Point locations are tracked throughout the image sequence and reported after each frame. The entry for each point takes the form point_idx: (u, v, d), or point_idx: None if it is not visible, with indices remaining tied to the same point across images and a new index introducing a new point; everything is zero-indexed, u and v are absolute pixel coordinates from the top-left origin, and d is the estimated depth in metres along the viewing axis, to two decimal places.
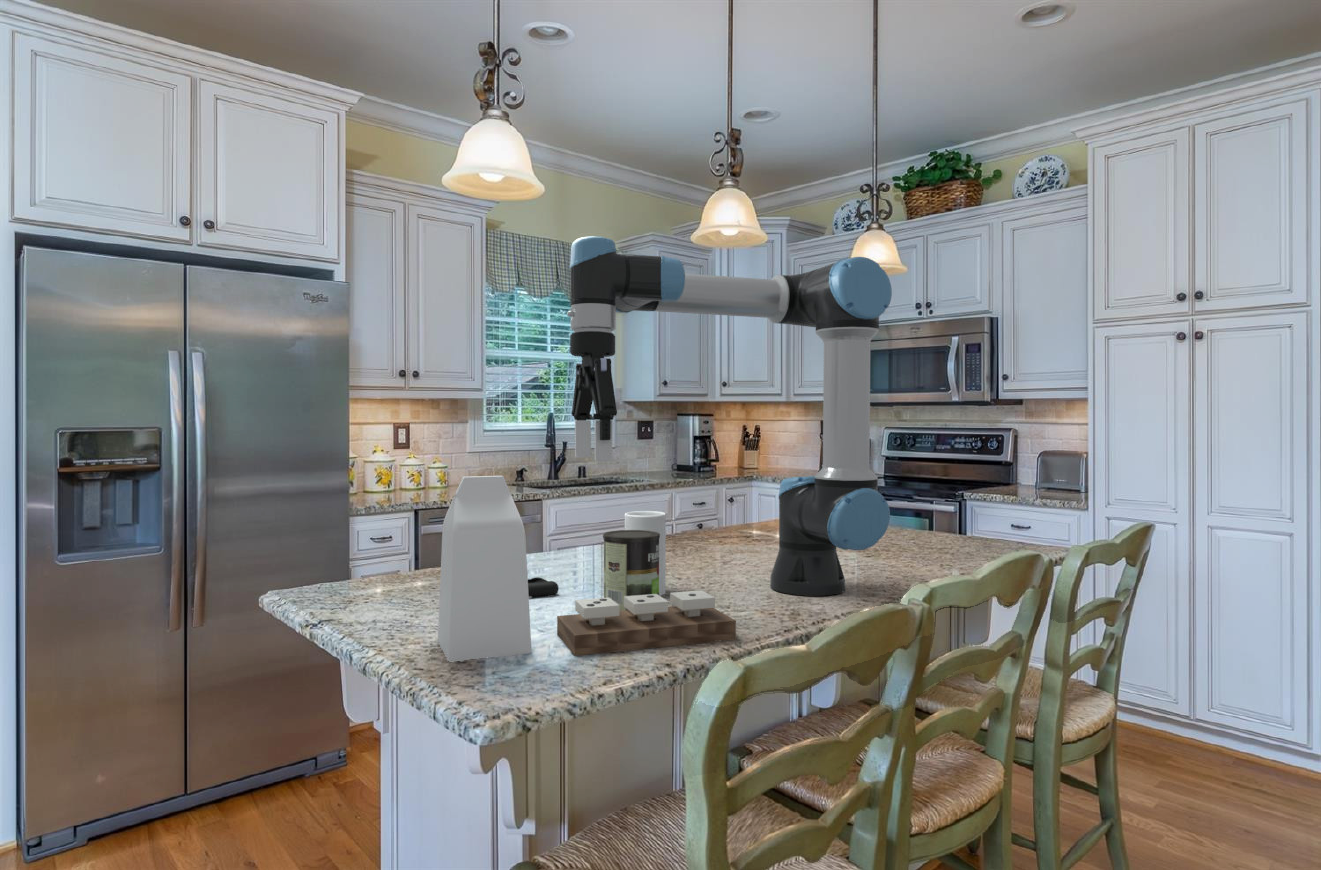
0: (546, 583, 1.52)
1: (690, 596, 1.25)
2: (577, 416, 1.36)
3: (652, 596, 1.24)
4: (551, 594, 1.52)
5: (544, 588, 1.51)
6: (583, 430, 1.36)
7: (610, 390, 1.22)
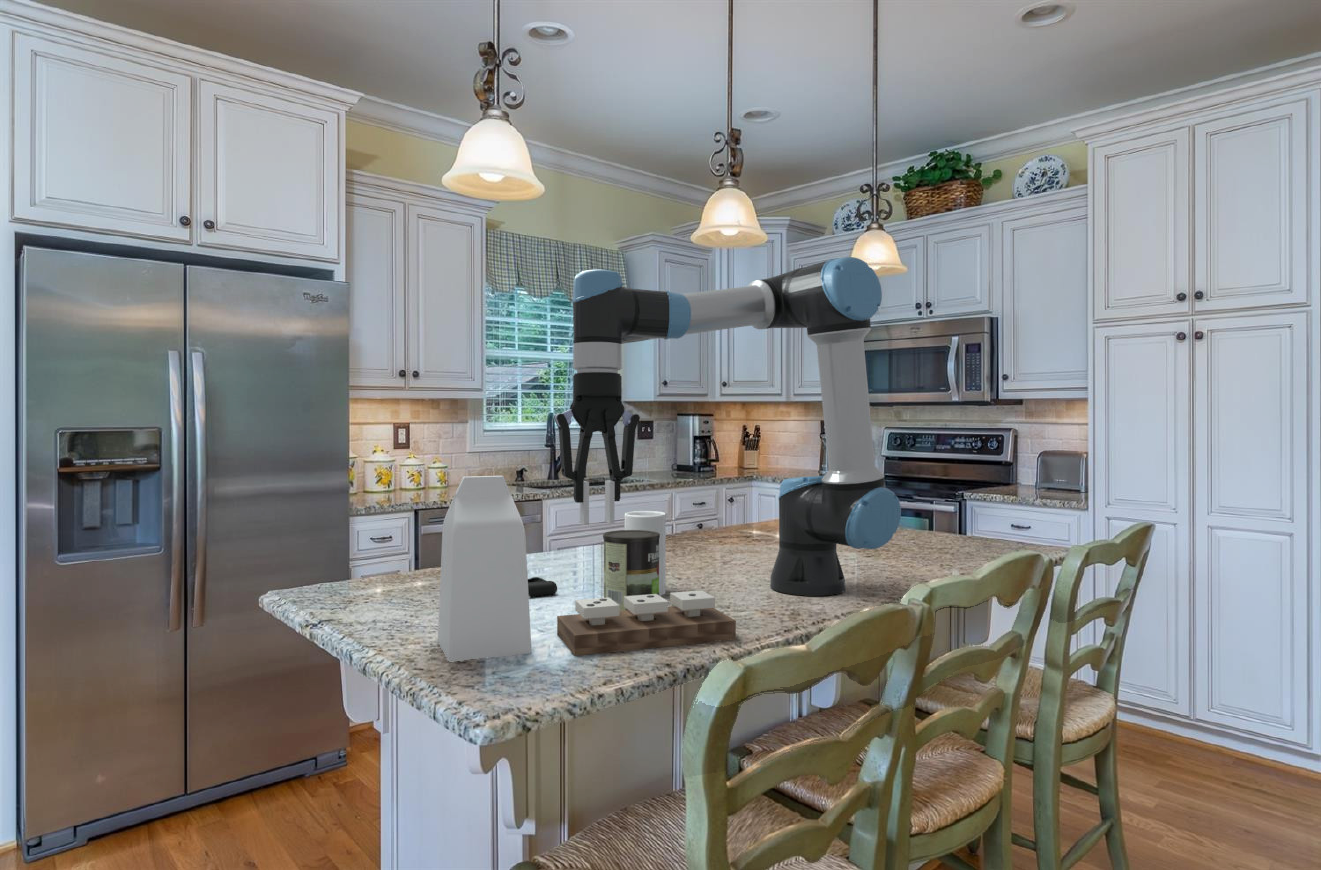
0: (545, 583, 1.52)
1: (690, 596, 1.25)
2: (609, 473, 1.22)
3: (652, 596, 1.24)
4: (550, 594, 1.52)
5: (543, 588, 1.51)
6: (607, 492, 1.21)
7: (562, 451, 1.17)
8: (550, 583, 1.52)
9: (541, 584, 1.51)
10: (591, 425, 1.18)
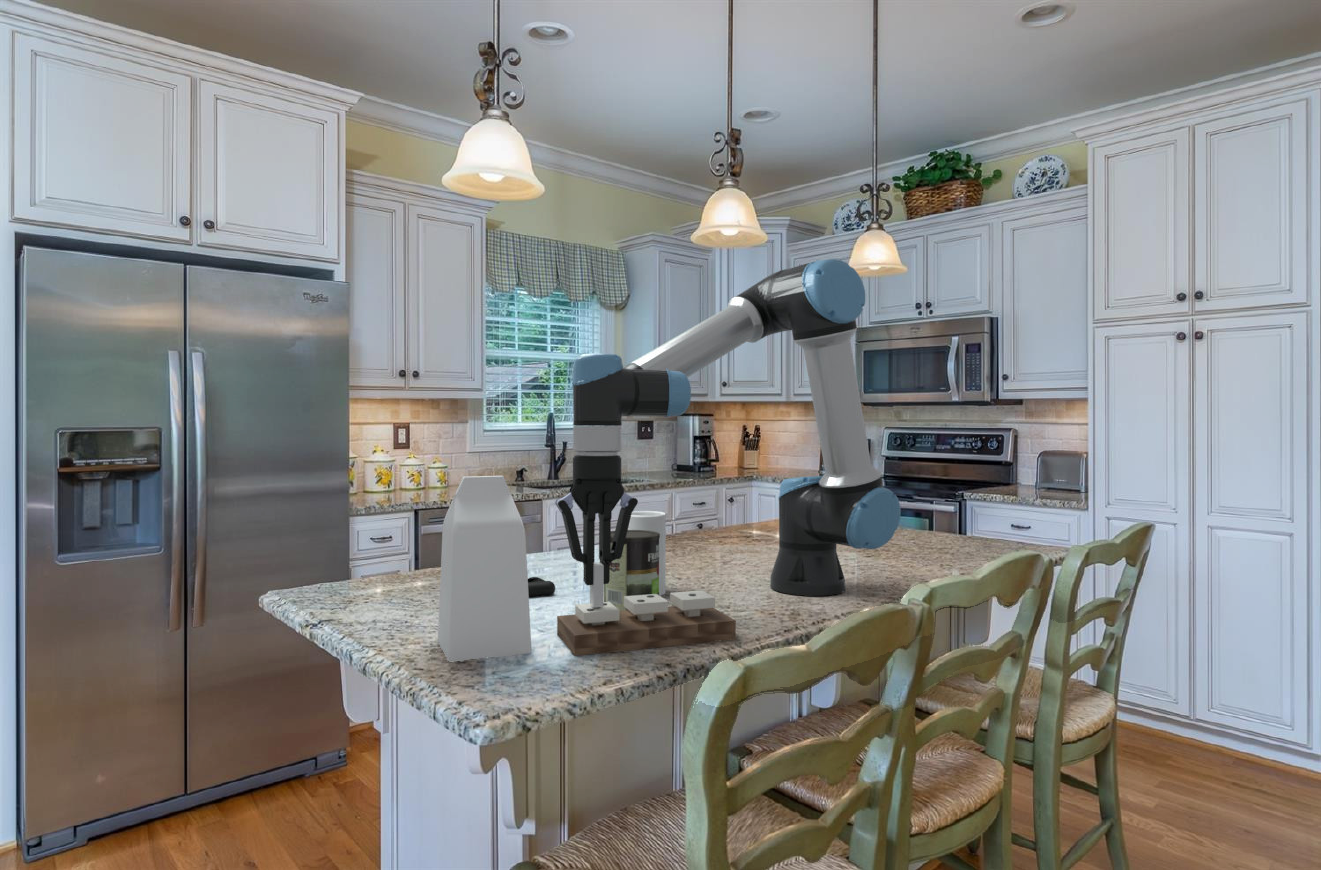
0: (543, 583, 1.52)
1: (690, 596, 1.25)
2: (599, 555, 1.21)
3: (652, 596, 1.24)
4: (548, 594, 1.52)
5: (541, 588, 1.51)
6: None
7: (569, 536, 1.18)
8: (548, 583, 1.52)
9: (539, 584, 1.51)
10: (593, 507, 1.18)
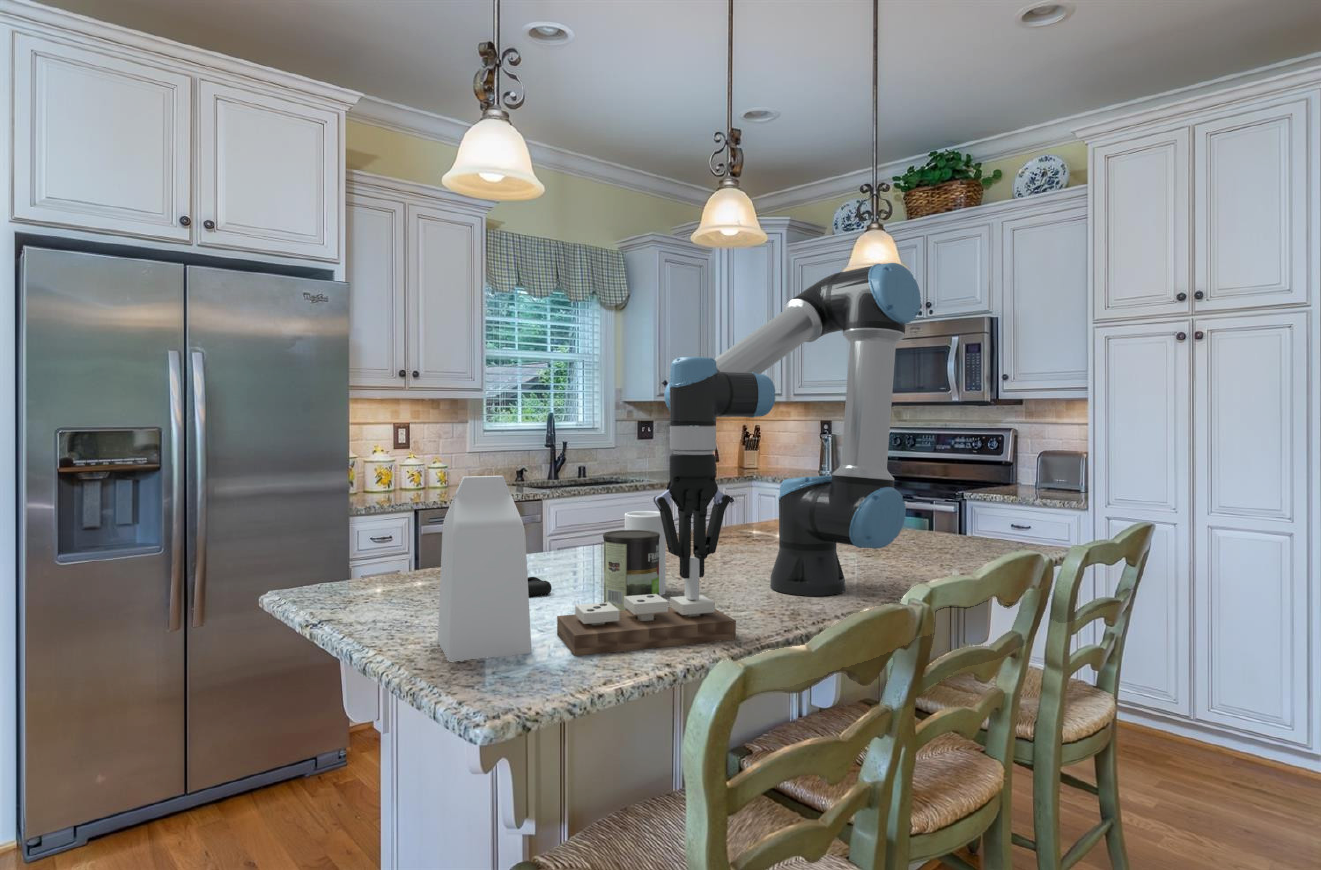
0: (539, 582, 1.52)
1: (690, 601, 1.25)
2: (693, 549, 1.27)
3: (652, 596, 1.24)
4: (544, 593, 1.52)
5: (537, 587, 1.51)
6: None
7: (667, 531, 1.23)
8: (544, 583, 1.52)
9: (535, 584, 1.51)
10: (690, 504, 1.24)
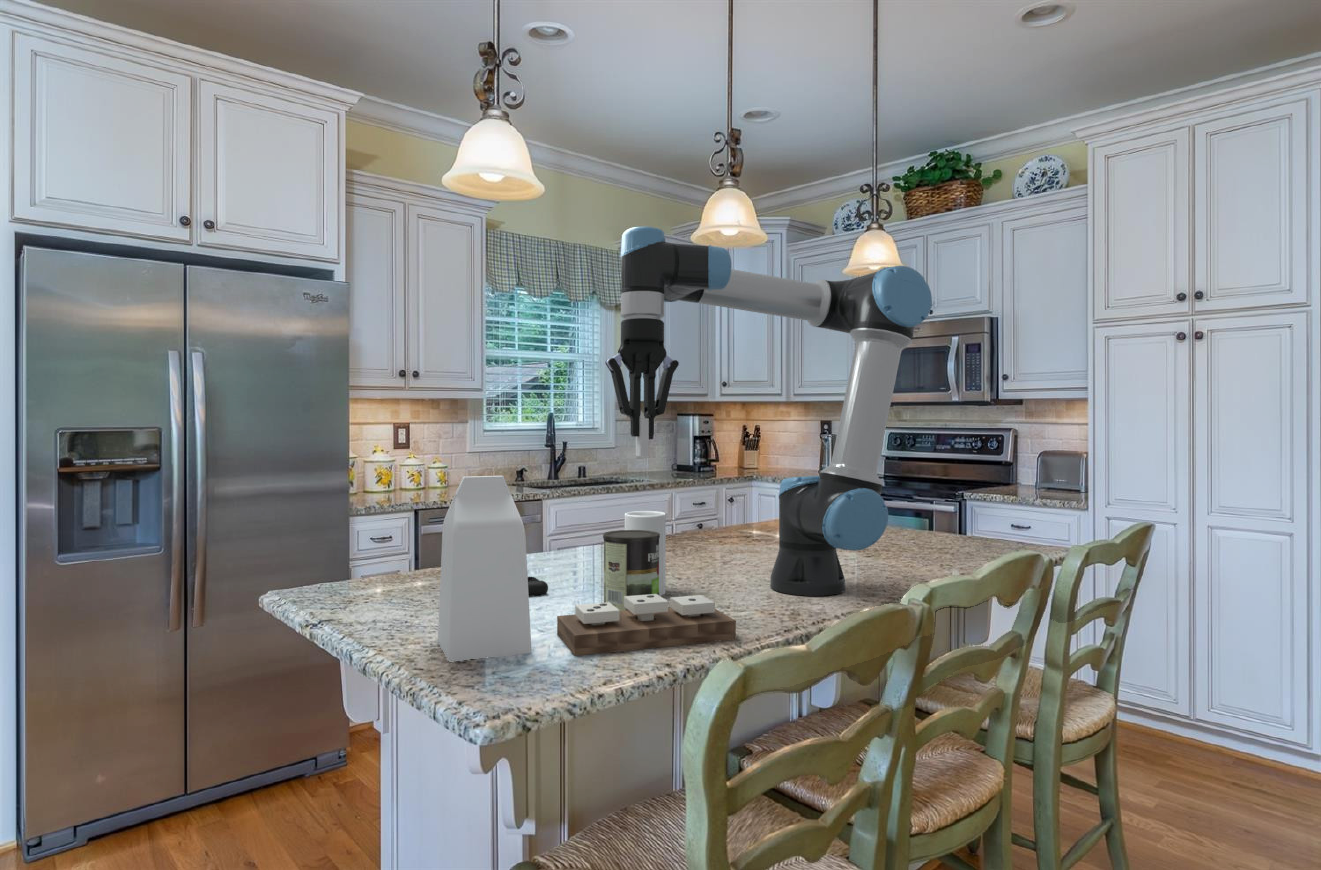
0: (535, 582, 1.52)
1: (690, 601, 1.25)
2: (644, 411, 1.35)
3: (652, 596, 1.24)
4: (540, 593, 1.52)
5: (533, 587, 1.51)
6: None
7: (618, 391, 1.32)
8: (541, 583, 1.52)
9: (531, 584, 1.52)
10: (639, 366, 1.32)
